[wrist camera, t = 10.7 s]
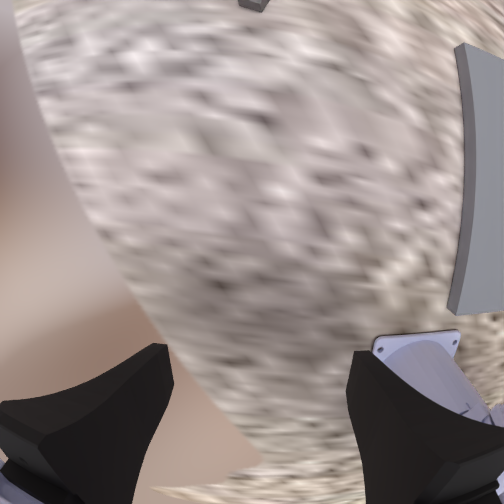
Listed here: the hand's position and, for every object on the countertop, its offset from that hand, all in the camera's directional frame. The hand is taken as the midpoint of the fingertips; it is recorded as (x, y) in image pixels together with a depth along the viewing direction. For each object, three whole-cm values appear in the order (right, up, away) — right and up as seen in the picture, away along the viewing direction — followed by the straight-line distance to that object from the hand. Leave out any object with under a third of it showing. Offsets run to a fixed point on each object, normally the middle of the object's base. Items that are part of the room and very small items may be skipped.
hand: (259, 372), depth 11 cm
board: (+25, +10, +5) cm, 27 cm away
